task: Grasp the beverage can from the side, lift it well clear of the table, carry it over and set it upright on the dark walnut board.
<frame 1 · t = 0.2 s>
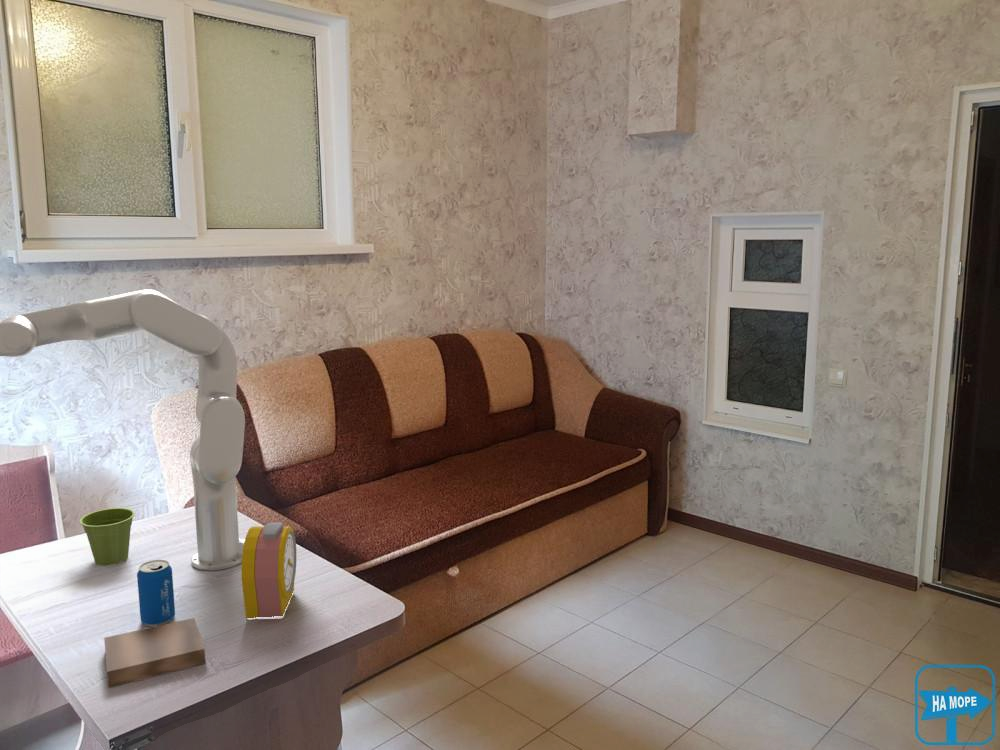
alarm clock: (272, 607, 162), on the table
plant pot: (111, 561, 184), on the table
walnut board: (154, 657, 142), on the table
beverage can: (158, 621, 156), on the table
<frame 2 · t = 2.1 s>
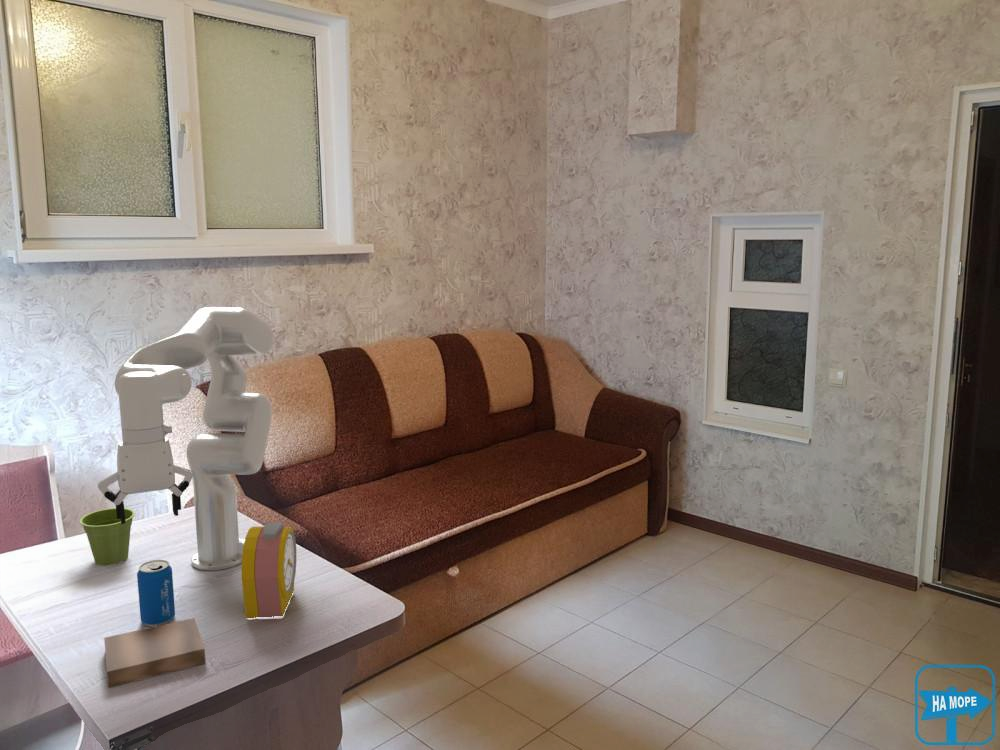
hand: (149, 517, 152), 22 cm above the table, tool pointing down, fingers open, 9 cm apart
nothing on the table moved.
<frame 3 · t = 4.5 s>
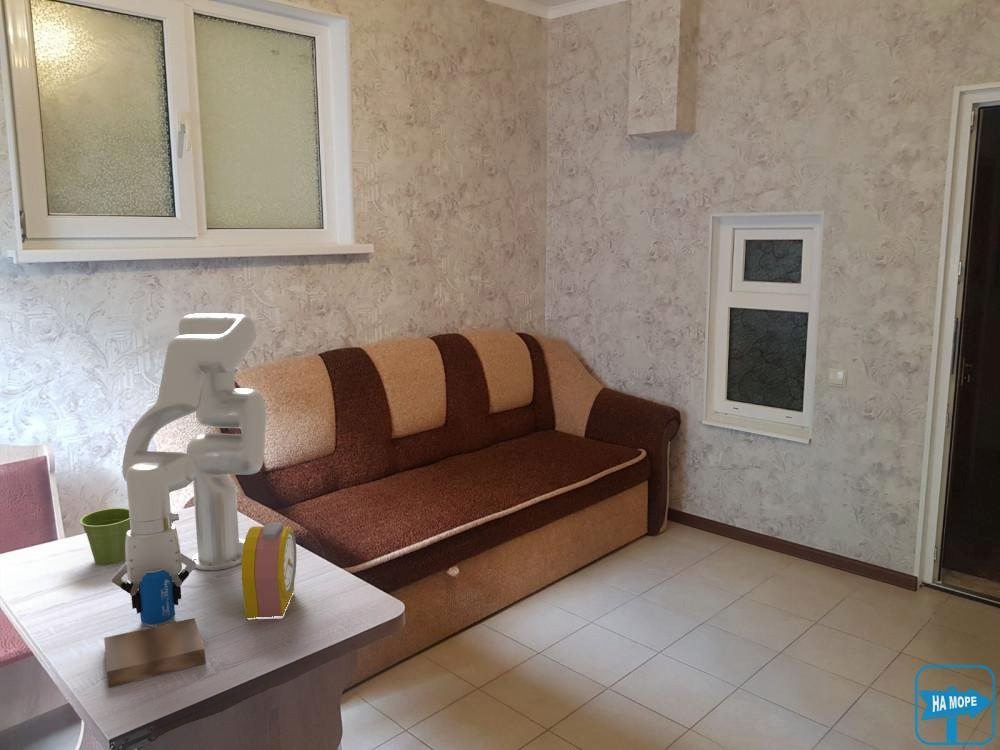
hand: (157, 605, 155), 3 cm above the table, tool pointing down, fingers closed on beverage can, 6 cm apart
beverage can: (158, 621, 156), on the table, touching gripper
everything else where it was.
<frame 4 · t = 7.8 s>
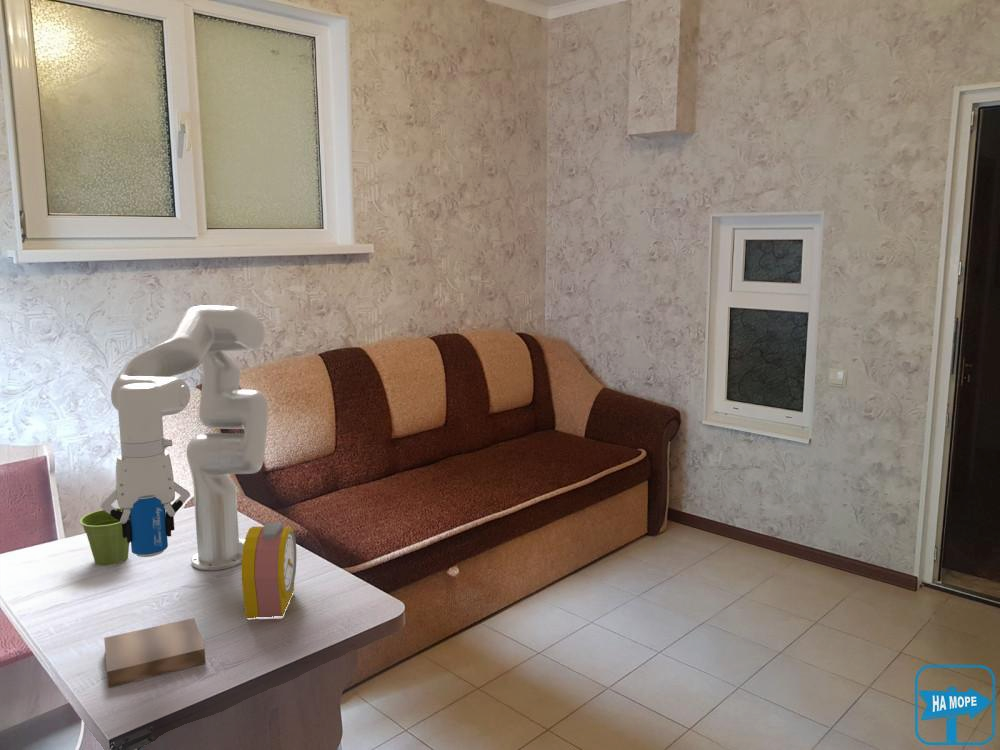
hand: (149, 536, 148), 20 cm above the table, tool pointing down, fingers closed on beverage can, 6 cm apart
beverage can: (150, 553, 149), point 17 cm above the table, touching gripper
everything else where it was.
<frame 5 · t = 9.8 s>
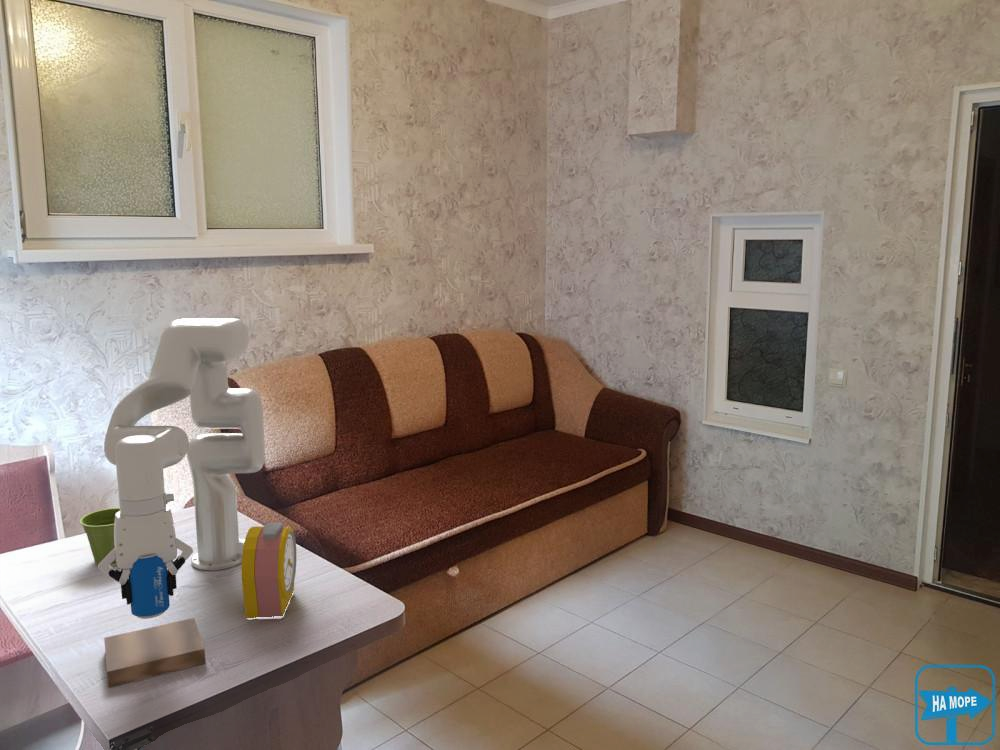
hand: (149, 596, 140), 12 cm above the table, tool pointing down, fingers closed on beverage can, 6 cm apart
beverage can: (151, 613, 140), point 9 cm above the table, touching gripper
everything else where it was.
when the fingers open (7 cm above the table, at t = 11.2 s): beverage can drops 1 cm, resting on walnut board.
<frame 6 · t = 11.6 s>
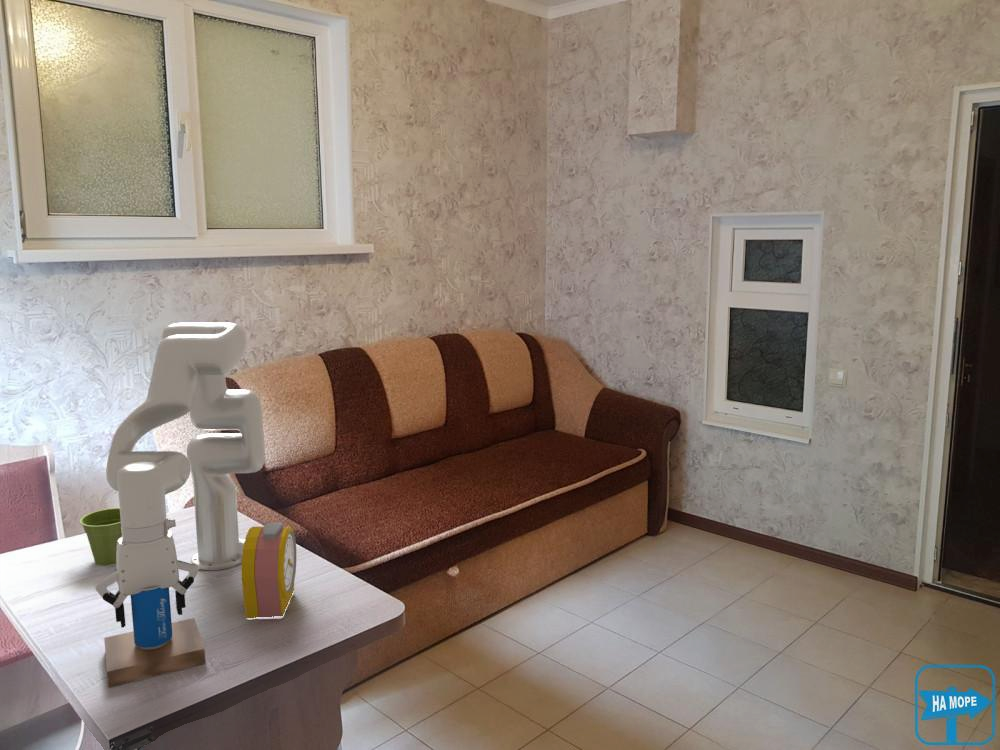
hand: (151, 617, 141), 8 cm above the table, tool pointing down, fingers open, 9 cm apart
beverage can: (154, 643, 142), point 3 cm above the table, touching walnut board
everything else where it was.
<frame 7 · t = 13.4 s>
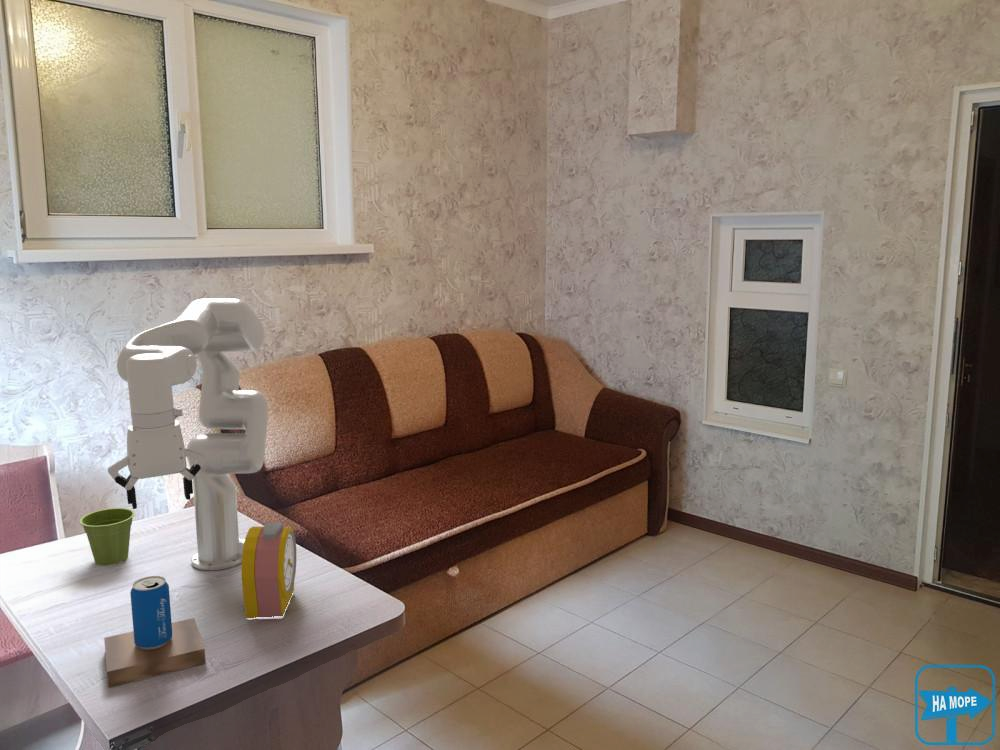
hand: (161, 501, 149), 26 cm above the table, tool pointing down, fingers open, 9 cm apart
nothing on the table moved.
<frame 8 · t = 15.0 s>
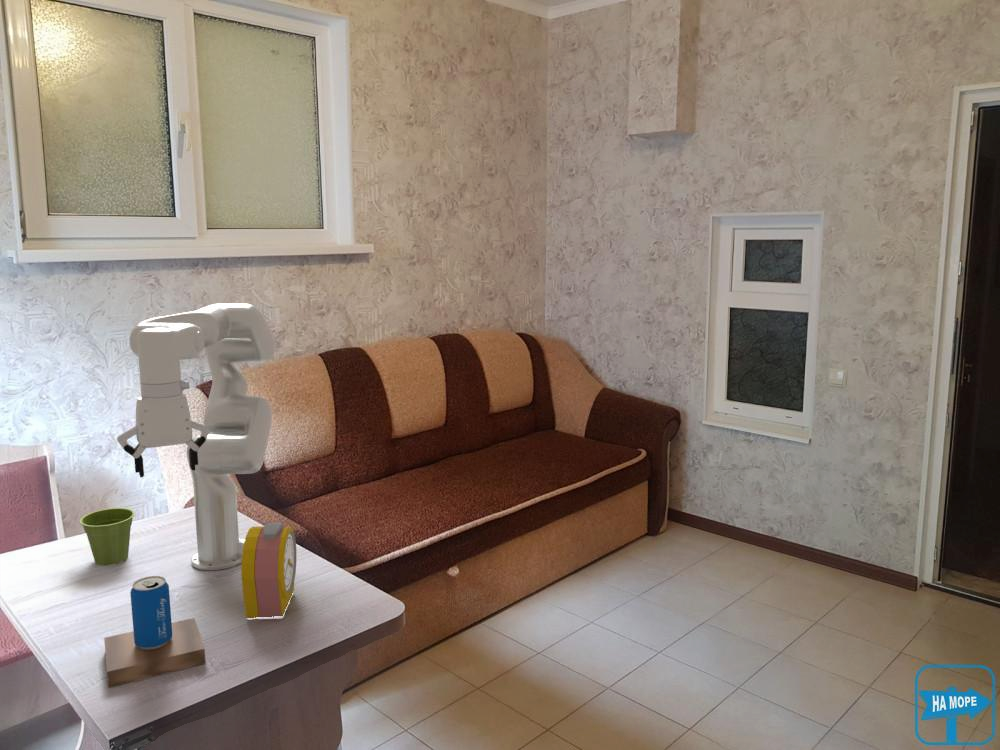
hand: (167, 472, 155), 30 cm above the table, tool pointing down, fingers open, 9 cm apart
nothing on the table moved.
at the end: beverage can inside the target area on the walnut board (0.2 cm from its centre), point 2.8 cm above the walnut board's base; beverage can tilted 0°; the gripper is holding nothing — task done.
